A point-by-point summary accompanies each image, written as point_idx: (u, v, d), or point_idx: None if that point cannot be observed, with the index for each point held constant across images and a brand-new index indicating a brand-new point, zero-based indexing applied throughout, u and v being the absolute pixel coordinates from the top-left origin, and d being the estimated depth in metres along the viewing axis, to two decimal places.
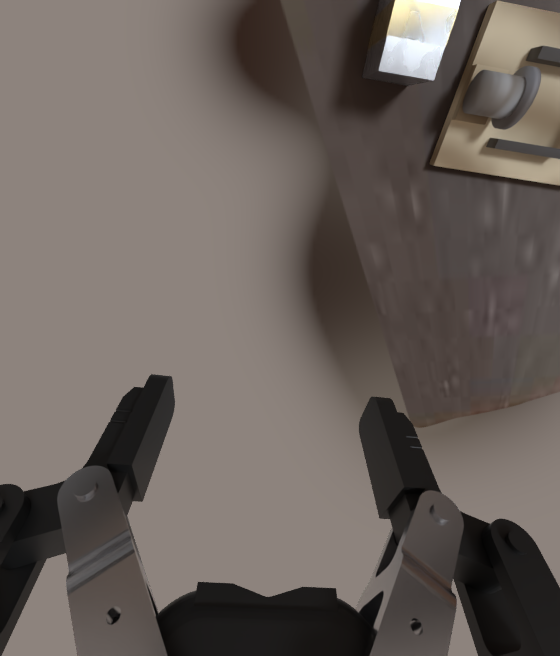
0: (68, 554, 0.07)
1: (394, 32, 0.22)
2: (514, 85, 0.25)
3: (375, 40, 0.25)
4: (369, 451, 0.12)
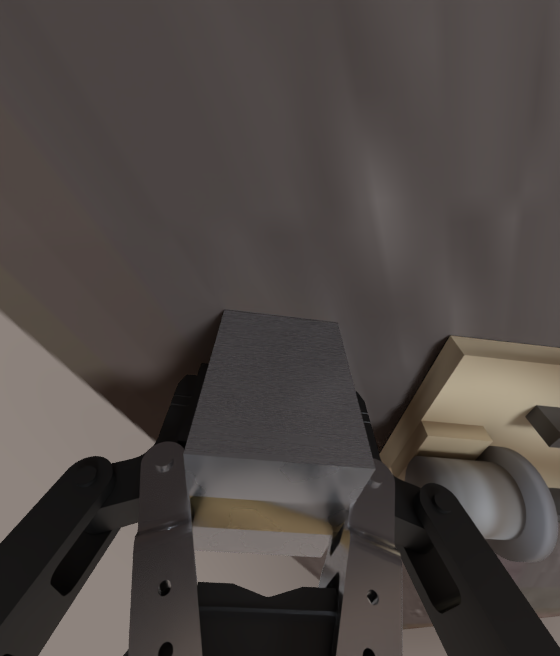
0: (140, 516, 0.07)
1: (206, 524, 0.09)
2: (500, 523, 0.12)
3: None
4: None
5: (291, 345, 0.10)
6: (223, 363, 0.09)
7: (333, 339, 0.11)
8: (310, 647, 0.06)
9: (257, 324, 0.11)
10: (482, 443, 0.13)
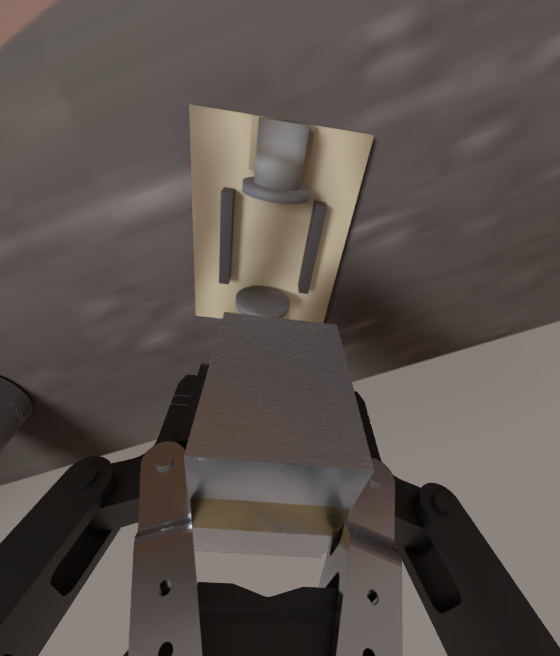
0: (140, 516, 0.07)
1: (206, 525, 0.09)
2: None
3: None
4: None
5: (291, 347, 0.10)
6: (224, 365, 0.09)
7: (333, 341, 0.11)
8: (310, 647, 0.06)
9: (257, 326, 0.11)
10: None
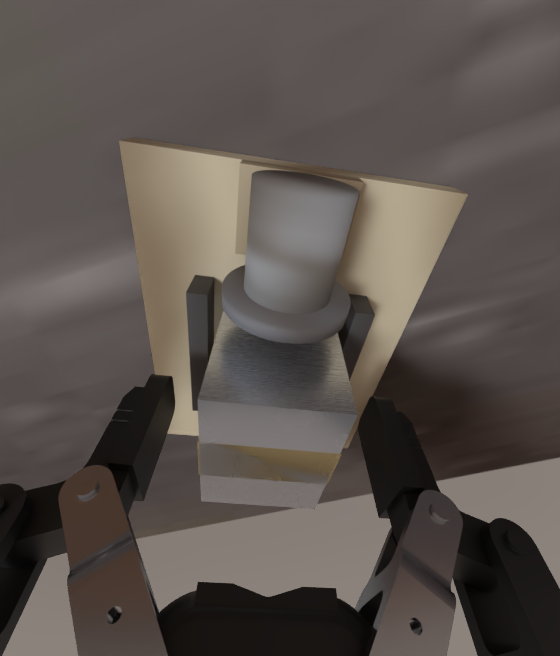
0: (69, 554, 0.07)
1: (213, 472, 0.10)
2: None
3: None
4: (369, 451, 0.12)
5: None
6: (229, 333, 0.11)
7: None
8: (341, 646, 0.06)
9: None
10: None
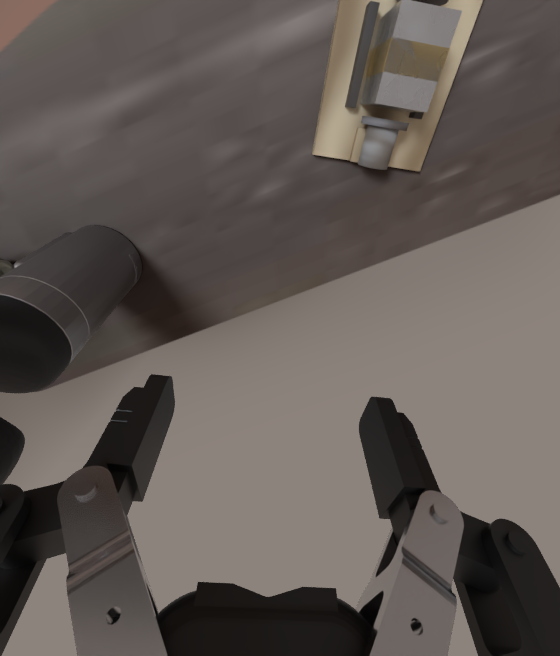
0: (69, 554, 0.07)
1: (390, 69, 0.24)
2: (376, 139, 0.28)
3: (372, 72, 0.26)
4: (369, 451, 0.12)
5: None
6: None
7: None
8: (341, 646, 0.06)
9: None
10: (359, 132, 0.30)
